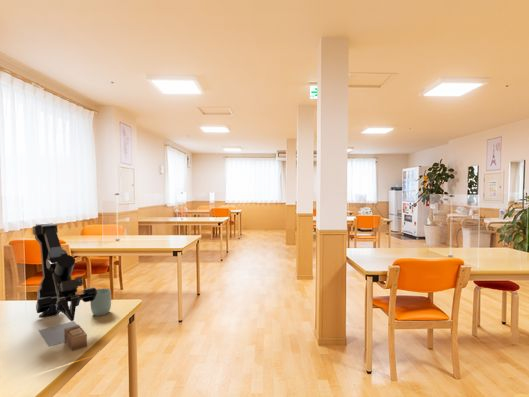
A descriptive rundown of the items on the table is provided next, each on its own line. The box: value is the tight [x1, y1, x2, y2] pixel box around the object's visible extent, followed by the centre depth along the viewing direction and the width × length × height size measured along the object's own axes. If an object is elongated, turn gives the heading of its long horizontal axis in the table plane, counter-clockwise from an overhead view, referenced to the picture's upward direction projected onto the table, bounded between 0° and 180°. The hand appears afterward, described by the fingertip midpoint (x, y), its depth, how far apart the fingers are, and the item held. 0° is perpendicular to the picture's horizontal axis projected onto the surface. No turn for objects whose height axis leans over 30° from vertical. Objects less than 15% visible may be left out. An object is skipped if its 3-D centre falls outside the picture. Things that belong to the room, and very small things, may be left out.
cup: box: [89, 288, 112, 317], centre depth 142 cm, size 8×8×10 cm
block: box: [64, 324, 88, 352], centre depth 115 cm, size 5×4×10 cm
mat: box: [38, 321, 78, 348], centre depth 123 cm, size 18×12×1 cm, turn 44°
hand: (72, 320), depth 117 cm, fingers closed
